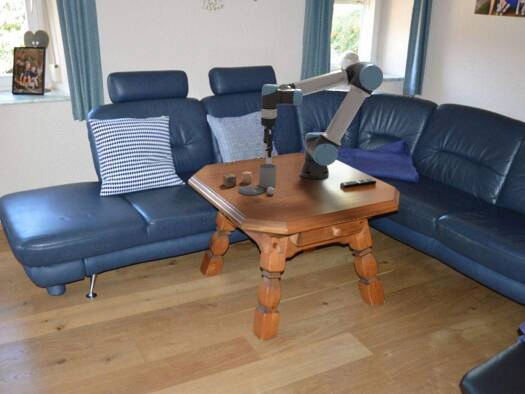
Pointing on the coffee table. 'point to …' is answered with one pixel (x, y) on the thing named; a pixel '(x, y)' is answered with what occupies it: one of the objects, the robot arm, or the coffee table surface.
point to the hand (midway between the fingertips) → (267, 159)
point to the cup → (267, 175)
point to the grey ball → (270, 190)
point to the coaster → (251, 190)
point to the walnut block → (229, 180)
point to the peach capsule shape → (246, 177)
